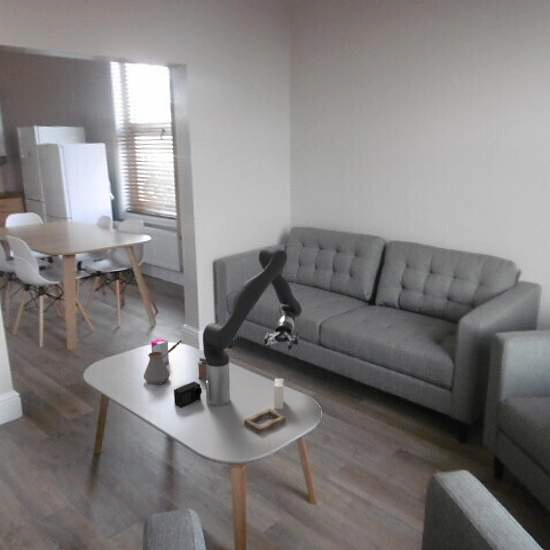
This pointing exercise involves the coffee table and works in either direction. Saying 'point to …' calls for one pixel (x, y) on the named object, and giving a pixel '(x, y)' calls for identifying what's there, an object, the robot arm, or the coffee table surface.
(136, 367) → the coffee table surface
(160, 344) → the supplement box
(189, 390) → the digital camera
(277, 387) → the key block
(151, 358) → the coffee pot
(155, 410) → the coffee table surface
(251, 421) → the frame
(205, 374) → the lighter
